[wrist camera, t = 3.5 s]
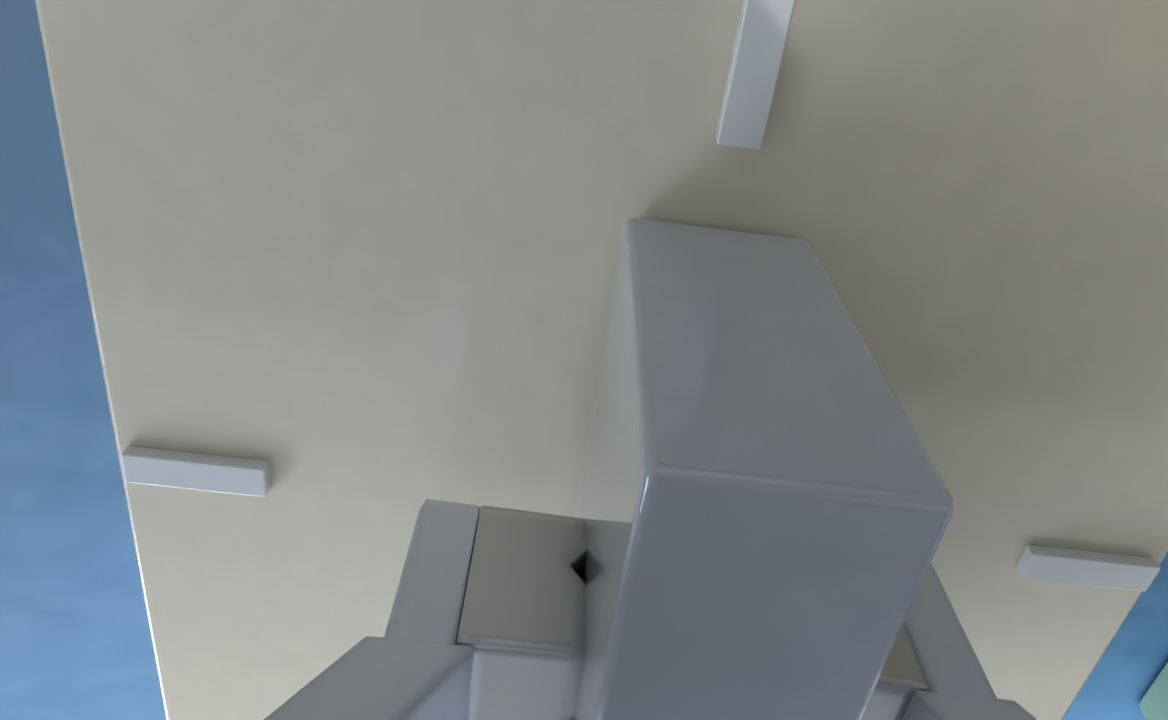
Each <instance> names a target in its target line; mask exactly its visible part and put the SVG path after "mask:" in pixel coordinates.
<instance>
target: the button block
mask: <svg viewBox="0 0 1168 720" xmlns="http://www.w3.org/2000/svg"><path fill="white" fill-rule="evenodd" d="M1139 707H1140V709H1141V711H1142V712H1143V714H1144V715H1145V717H1146V718H1147V720H1168V662H1167V663H1166V665H1165V666H1164V668H1163V669H1162V670H1161V672H1160V673H1159V675H1158V676H1157V678H1156V679H1155V681H1154V682H1153V683H1152V685H1151V686H1150V688H1149V689H1148V691H1147V692H1146V694H1145V695H1144V697H1143V698H1142V699H1141V701H1140V702H1139Z"/></svg>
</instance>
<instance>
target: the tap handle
mask: <svg viewBox="0 0 1168 720" xmlns="http://www.w3.org/2000/svg"><path fill="white" fill-rule="evenodd" d="M952 514H953V498H952V496H951V494H950V492H949V490H948V489H947V487H946V485H945V483H944V482H943V480H942V478H941V476H940V474H939V473H938V471H937V469H936V467H935V465H934V464H933V462H932V460H931V458H930V456H929V455H928V453H927V451H926V449H925V447H924V446H923V444H922V442H921V440H920V439H919V437H918V435H917V433H916V431H915V430H914V428H913V426H912V424H911V422H910V421H909V419H908V417H907V415H906V413H905V412H904V410H903V408H902V406H901V404H900V403H899V401H898V399H897V397H896V396H895V394H894V392H893V390H892V388H891V387H890V385H889V383H888V381H887V379H886V378H885V376H884V374H883V372H882V370H881V369H880V367H879V365H878V363H877V361H876V360H875V358H874V356H873V354H872V352H871V351H870V349H869V347H868V345H867V344H866V342H865V340H864V338H863V336H862V335H861V333H860V331H859V329H858V327H857V326H856V324H855V322H854V320H853V318H852V317H851V315H850V313H849V311H848V309H847V308H846V306H845V304H844V302H843V301H842V299H841V297H840V295H839V293H838V292H837V290H836V288H835V286H834V284H833V283H832V281H831V279H830V277H829V275H828V274H827V272H826V270H825V268H824V266H823V265H822V263H821V261H820V259H819V258H818V256H817V254H816V252H815V250H814V249H813V247H812V245H811V243H810V242H808V241H806V240H802V239H794V238H787V237H779V236H771V235H763V234H755V233H747V232H739V231H732V230H724V229H716V228H708V227H700V226H692V225H685V224H677V223H669V222H661V221H653V220H645V219H638V218H632V219H628V220H627V222H626V224H625V225H624V231H623V237H622V244H621V250H620V256H619V262H618V268H617V275H616V281H615V287H614V293H613V299H612V305H611V312H610V318H609V324H608V330H607V336H606V343H605V349H604V355H603V361H602V367H601V374H600V380H599V386H598V392H597V398H596V404H595V411H594V417H593V423H592V429H591V435H590V442H589V448H588V454H587V460H586V466H585V472H584V479H583V485H582V491H581V497H580V503H579V510H578V516H577V518H584V519H587V525H588V539H587V554H586V560H585V566H584V572H583V578H582V581H583V582H584V583H585V584H586V586H587V603H586V656H585V661H584V666H583V672H582V677H581V682H580V687H579V693H578V698H577V703H576V709H575V714H574V716H573V717H572V718H571V719H569V720H860V719H861V717H862V715H863V713H864V710H865V708H866V706H867V704H868V702H869V699H870V697H871V695H872V693H873V690H874V688H875V686H876V684H877V681H878V679H879V677H880V675H881V672H882V670H883V668H884V666H885V664H886V661H887V659H888V657H889V655H890V652H891V650H892V648H893V646H894V643H895V641H896V639H897V637H898V635H899V632H900V630H901V628H902V626H903V623H904V621H905V619H906V617H907V614H908V612H909V610H910V608H911V606H912V603H913V601H914V599H915V597H916V594H917V592H918V590H919V588H920V585H921V583H922V581H923V579H924V577H925V574H926V572H927V570H928V568H929V565H930V563H931V561H932V559H933V556H934V554H935V552H936V550H937V548H938V545H939V543H940V541H941V539H942V536H943V534H944V532H945V530H946V527H947V525H948V523H949V521H950V519H951V516H952Z"/></svg>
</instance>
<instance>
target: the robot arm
mask: <svg viewBox="0 0 1168 720" xmlns="http://www.w3.org/2000/svg"><path fill="white" fill-rule="evenodd" d="M587 539H588V525H587V519H584V518H576V517H569V516H561V515H554V514H546V513H538V512H531V511H523V510H515V509H508V508H500V507H493V506H485V505H482V507H479V506H478V505H470V504H463V503H455V502H447V501H439V500H431V499H426V500H425V502H424V503H423V505H422V506H421V508H420V509H419V513H418V517H417V520H416V524H415V527H414V531H413V535H412V538H411V542H410V545H409V549H408V553H407V556H406V560H405V563H404V567H403V571H402V574H401V578H400V581H399V585H398V589H397V592H396V596H395V599H394V603H393V607H392V610H391V614H390V617H389V621H388V625H387V628H386V632H385V635H384V637H371V636H365V637H364V638H363V639H362V640H361V641H359V642H358V643H357V644H356V645H354V646H353V647H352V648H351V649H349V650H348V651H347V652H346V653H345V654H343V655H342V656H341V657H340V658H338V659H337V660H336V661H335V662H334V663H332V664H331V665H330V666H329V667H327V668H326V669H325V670H324V671H322V672H321V673H320V674H319V675H318V676H316V677H315V678H314V679H313V680H311V681H310V682H309V683H308V684H307V685H305V686H304V687H303V688H302V689H300V690H299V691H298V692H297V693H295V694H294V695H293V696H292V697H291V698H289V699H288V700H287V701H286V702H284V703H283V704H282V705H281V706H280V707H278V708H277V709H276V710H275V711H273V712H272V713H271V714H270V715H268V716H267V717H266V718H265V719H264V720H569V719H571V718H572V717H573V716H574V714H575V709H576V703H577V698H578V693H579V687H580V682H581V677H582V672H583V666H584V661H585V656H586V603H587V586H586V584H585V583H584V582H583V581H582V578H583V572H584V566H585V560H586V554H587ZM860 720H1037V719H1036V718H1035V717H1034V716H1032V715H1031V714H1030V713H1029V712H1028V711H1026V710H1025V709H1024V708H1023V707H1022V706H1020V705H1019V704H1018V703H1017V702H1016V701H1012V700H1004V699H997V697H996V695H995V693H994V691H993V689H992V687H991V684H990V682H989V680H988V678H987V676H986V674H985V672H984V670H983V668H982V666H981V664H980V662H979V660H978V658H977V656H976V654H975V652H974V650H973V648H972V645H971V643H970V641H969V639H968V637H967V635H966V633H965V631H964V629H963V627H962V625H961V623H960V621H959V619H958V617H957V615H956V613H955V611H954V608H953V606H952V604H951V602H950V600H949V598H948V596H947V594H946V592H945V590H944V588H943V586H942V584H941V582H940V580H939V578H938V576H937V574H936V572H935V569H934V567H933V565H932V563H930V565H929V568H928V570H927V572H926V574H925V577H924V579H923V581H922V583H921V585H920V588H919V590H918V592H917V594H916V597H915V599H914V601H913V603H912V606H911V608H910V610H909V612H908V614H907V617H906V619H905V621H904V623H903V626H902V628H901V630H900V632H899V635H898V637H897V639H896V641H895V643H894V646H893V648H892V650H891V652H890V655H889V657H888V659H887V661H886V664H885V666H884V668H883V670H882V672H881V675H880V677H879V679H878V681H877V684H876V686H875V688H874V690H873V693H872V695H871V697H870V699H869V702H868V704H867V706H866V708H865V710H864V713H863V715H862V717H861V719H860Z"/></svg>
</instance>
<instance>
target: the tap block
mask: <svg viewBox="0 0 1168 720" xmlns="http://www.w3.org/2000/svg"><path fill="white" fill-rule="evenodd" d="M35 3H36V9H37V14H38V20H39V25H40V31H41V36H42V42H43V47H44V53H45V58H46V64H47V69H48V75H49V80H50V86H51V91H52V97H53V102H54V108H55V113H56V118H57V124H58V129H59V135H60V140H61V146H62V151H63V157H64V162H65V168H66V173H67V179H68V184H69V190H70V195H71V201H72V206H73V212H74V217H75V223H76V228H77V234H78V239H79V245H80V250H81V256H82V261H83V267H84V272H85V277H86V283H87V288H88V294H89V299H90V305H91V310H92V316H93V321H94V327H95V332H96V338H97V343H98V349H99V354H100V360H101V365H102V371H103V376H104V382H105V387H106V393H107V398H108V404H109V409H110V415H111V420H112V426H113V431H114V436H115V442H116V447H117V453H118V458H119V464H120V469H121V475H122V480H123V486H124V491H125V497H126V502H127V508H128V513H129V519H130V524H131V530H132V535H133V541H134V546H135V552H136V557H137V563H138V568H139V574H140V579H141V585H142V590H143V595H144V601H145V606H146V612H147V617H148V623H149V628H150V634H151V639H152V645H153V650H154V656H155V661H156V667H157V672H158V678H159V683H160V689H161V694H162V700H163V705H164V711H165V716H166V720H264V719H265V718H266V717H267V716H268V715H270V714H271V713H272V712H273V711H275V710H276V709H277V708H278V707H280V706H281V705H282V704H283V703H284V702H286V701H287V700H288V699H289V698H291V697H292V696H293V695H294V694H295V693H297V692H298V691H299V690H300V689H302V688H303V687H304V686H305V685H307V684H308V683H309V682H310V681H311V680H313V679H314V678H315V677H316V676H318V675H319V674H320V673H321V672H322V671H324V670H325V669H326V668H327V667H329V666H330V665H331V664H332V663H334V662H335V661H336V660H337V659H338V658H340V657H341V656H342V655H343V654H345V653H346V652H347V651H348V650H349V649H351V648H352V647H353V646H354V645H356V644H357V643H358V642H359V641H361V640H362V639H363V638H364V637H365V636H371V637H384V635H385V632H386V628H387V625H388V621H389V617H390V614H391V610H392V607H393V603H394V599H395V596H396V592H397V589H398V585H399V581H400V578H401V574H402V571H403V567H404V563H405V560H406V556H407V553H408V549H409V545H410V542H411V538H412V535H413V531H414V527H415V524H416V520H417V517H418V513H419V509H420V508H421V506H422V505H423V503H424V502H425V500H426V499H431V500H439V501H447V502H455V503H463V504H470V505H478V506H479V507H482V505H485V506H493V507H500V508H508V509H515V510H523V511H531V512H538V513H546V514H554V515H561V516H569V517H576V518H577V516H578V510H579V503H580V497H581V491H582V485H583V479H584V472H585V466H586V460H587V454H588V448H589V442H590V435H591V429H592V423H593V417H594V411H595V404H596V398H597V392H598V386H599V380H600V374H601V367H602V361H603V355H604V349H605V343H606V336H607V330H608V324H609V318H610V312H611V305H612V299H613V293H614V287H615V281H616V275H617V268H618V262H619V256H620V250H621V244H622V237H623V231H624V225H625V224H626V222H627V220H628V219H632V218H638V219H645V220H653V221H661V222H669V223H677V224H685V225H692V226H700V227H708V228H716V229H724V230H732V231H739V232H747V233H755V234H763V235H771V236H779V237H787V238H794V239H802V240H806V241H808V242H810V243H811V245H812V247H813V249H814V250H815V252H816V254H817V256H818V258H819V259H820V261H821V263H822V265H823V266H824V268H825V270H826V272H827V274H828V275H829V277H830V279H831V281H832V283H833V284H834V286H835V288H836V290H837V292H838V293H839V295H840V297H841V299H842V301H843V302H844V304H845V306H846V308H847V309H848V311H849V313H850V315H851V317H852V318H853V320H854V322H855V324H856V326H857V327H858V329H859V331H860V333H861V335H862V336H863V338H864V340H865V342H866V344H867V345H868V347H869V349H870V351H871V352H872V354H873V356H874V358H875V360H876V361H877V363H878V365H879V367H880V369H881V370H882V372H883V374H884V376H885V378H886V379H887V381H888V383H889V385H890V387H891V388H892V390H893V392H894V394H895V396H896V397H897V399H898V401H899V403H900V404H901V406H902V408H903V410H904V412H905V413H906V415H907V417H908V419H909V421H910V422H911V424H912V426H913V428H914V430H915V431H916V433H917V435H918V437H919V439H920V440H921V442H922V444H923V446H924V447H925V449H926V451H927V453H928V455H929V456H930V458H931V460H932V462H933V464H934V465H935V467H936V469H937V471H938V473H939V474H940V476H941V478H942V480H943V482H944V483H945V485H946V487H947V489H948V490H949V492H950V494H951V496H952V498H953V514H952V516H951V519H950V521H949V523H948V525H947V527H946V530H945V532H944V534H943V536H942V539H941V541H940V543H939V545H938V548H937V550H936V552H935V554H934V556H933V559H932V561H931V563H932V565H933V567H934V569H935V572H936V574H937V576H938V578H939V580H940V582H941V584H942V586H943V588H944V590H945V592H946V594H947V596H948V598H949V600H950V602H951V604H952V606H953V608H954V611H955V613H956V615H957V617H958V619H959V621H960V623H961V625H962V627H963V629H964V631H965V633H966V635H967V637H968V639H969V641H970V643H971V645H972V648H973V650H974V652H975V654H976V656H977V658H978V660H979V662H980V664H981V666H982V668H983V670H984V672H985V674H986V676H987V678H988V680H989V682H990V684H991V687H992V689H993V691H994V693H995V695H996V697H997V699H1004V700H1012V701H1016V702H1017V703H1018V704H1019V705H1020V706H1022V707H1023V708H1024V709H1025V710H1026V711H1028V712H1029V713H1030V714H1031V715H1032V716H1034V717H1035V718H1036V719H1037V720H1062V719H1063V718H1064V716H1065V714H1066V713H1067V711H1068V710H1069V708H1070V707H1071V705H1072V703H1073V702H1074V700H1075V699H1076V697H1077V695H1078V694H1079V692H1080V691H1081V689H1082V687H1083V686H1084V684H1085V683H1086V681H1087V680H1088V678H1089V676H1090V675H1091V673H1092V672H1093V670H1094V668H1095V667H1096V665H1097V664H1098V662H1099V660H1100V659H1101V657H1102V656H1103V654H1104V653H1105V651H1106V649H1107V648H1108V646H1109V645H1110V643H1111V641H1112V640H1113V638H1114V637H1115V635H1116V634H1117V632H1118V630H1119V629H1120V627H1121V626H1122V624H1123V622H1124V621H1125V619H1126V618H1127V616H1128V614H1129V613H1130V611H1131V610H1132V608H1133V607H1134V605H1135V603H1136V602H1137V600H1138V599H1139V597H1140V595H1141V594H1142V592H1143V591H1144V592H1146V591H1147V590H1148V588H1149V587H1150V585H1151V584H1152V582H1153V581H1154V579H1155V577H1156V576H1157V574H1158V573H1159V571H1160V569H1161V566H1160V564H1161V562H1162V561H1163V559H1164V557H1165V556H1166V554H1167V553H1168V0H35Z"/></svg>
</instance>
